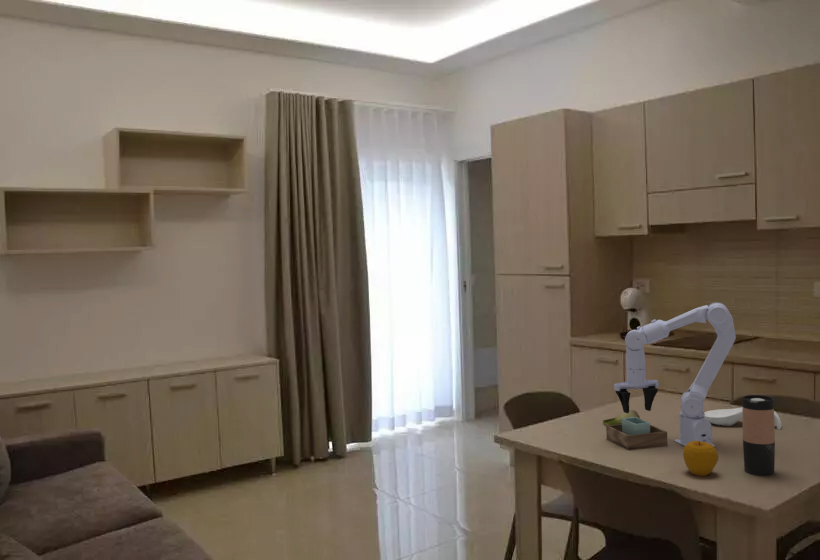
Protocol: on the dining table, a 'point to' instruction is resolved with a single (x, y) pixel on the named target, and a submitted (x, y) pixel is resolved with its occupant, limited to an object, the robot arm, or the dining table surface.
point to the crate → (636, 438)
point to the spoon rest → (731, 417)
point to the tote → (635, 426)
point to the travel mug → (758, 435)
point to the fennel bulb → (619, 419)
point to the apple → (700, 457)
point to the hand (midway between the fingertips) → (637, 411)
